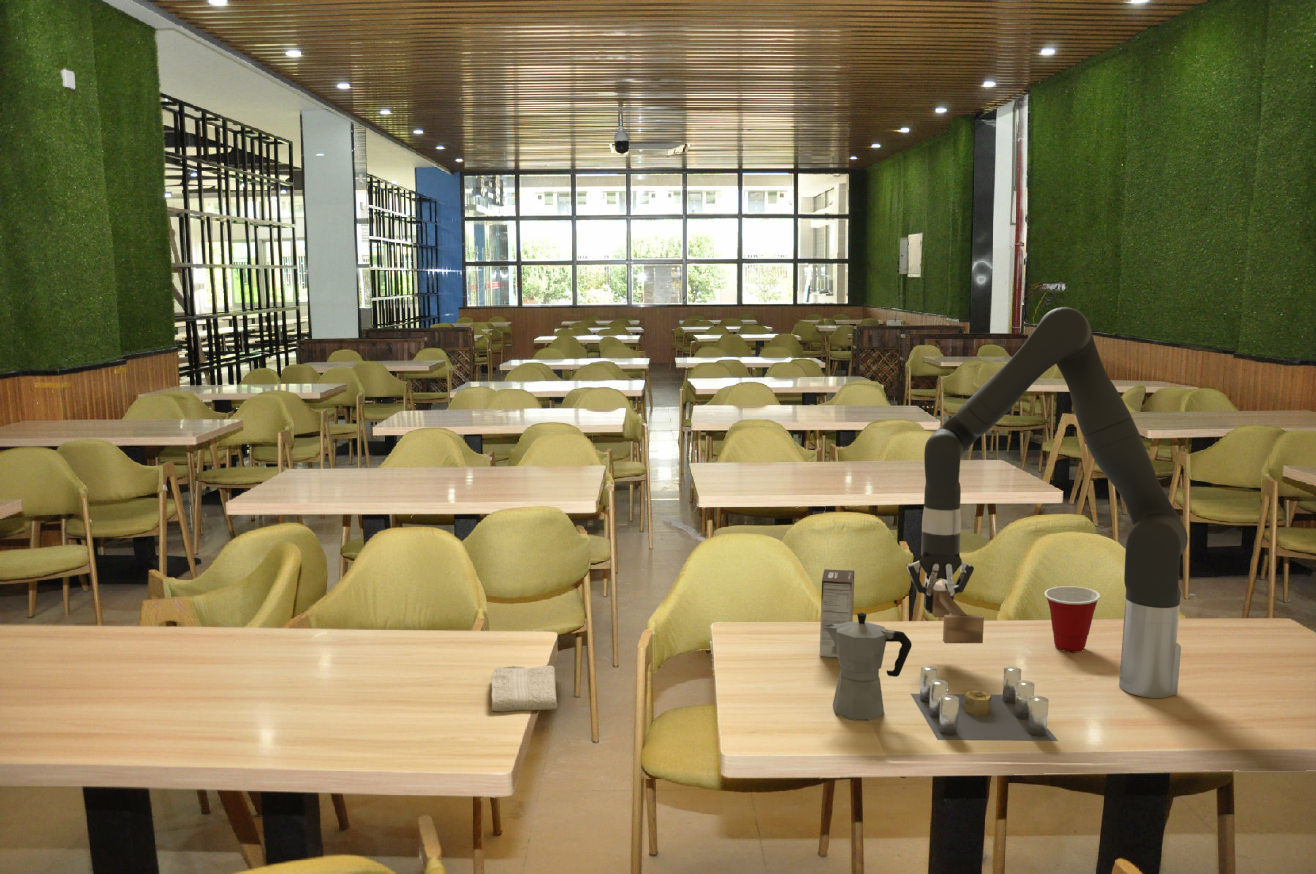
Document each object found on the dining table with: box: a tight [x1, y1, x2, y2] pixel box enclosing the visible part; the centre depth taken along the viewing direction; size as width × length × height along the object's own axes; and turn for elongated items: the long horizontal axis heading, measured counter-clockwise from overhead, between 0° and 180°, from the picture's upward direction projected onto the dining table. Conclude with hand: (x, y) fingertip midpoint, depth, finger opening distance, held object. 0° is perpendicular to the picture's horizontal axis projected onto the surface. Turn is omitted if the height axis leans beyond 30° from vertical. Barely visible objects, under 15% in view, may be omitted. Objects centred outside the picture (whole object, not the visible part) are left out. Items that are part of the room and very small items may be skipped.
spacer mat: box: [910, 693, 1059, 742], centre depth 190 cm, size 20×20×1 cm
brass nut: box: [964, 690, 991, 716], centre depth 192 cm, size 5×4×3 cm
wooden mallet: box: [930, 584, 985, 644], centre depth 212 cm, size 7×22×5 cm, turn 0°
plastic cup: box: [1044, 585, 1101, 653], centre depth 226 cm, size 11×11×12 cm
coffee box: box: [819, 568, 856, 658], centre depth 223 cm, size 9×6×16 cm
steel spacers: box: [919, 664, 1049, 737], centre depth 190 cm, size 18×17×6 cm
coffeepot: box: [824, 612, 912, 722], centre depth 191 cm, size 15×9×18 cm, turn 66°
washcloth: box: [491, 665, 558, 713], centre depth 200 cm, size 12×18×3 cm, turn 8°
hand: (938, 611), depth 220 cm, fingers closed on wooden mallet, 3 cm apart
